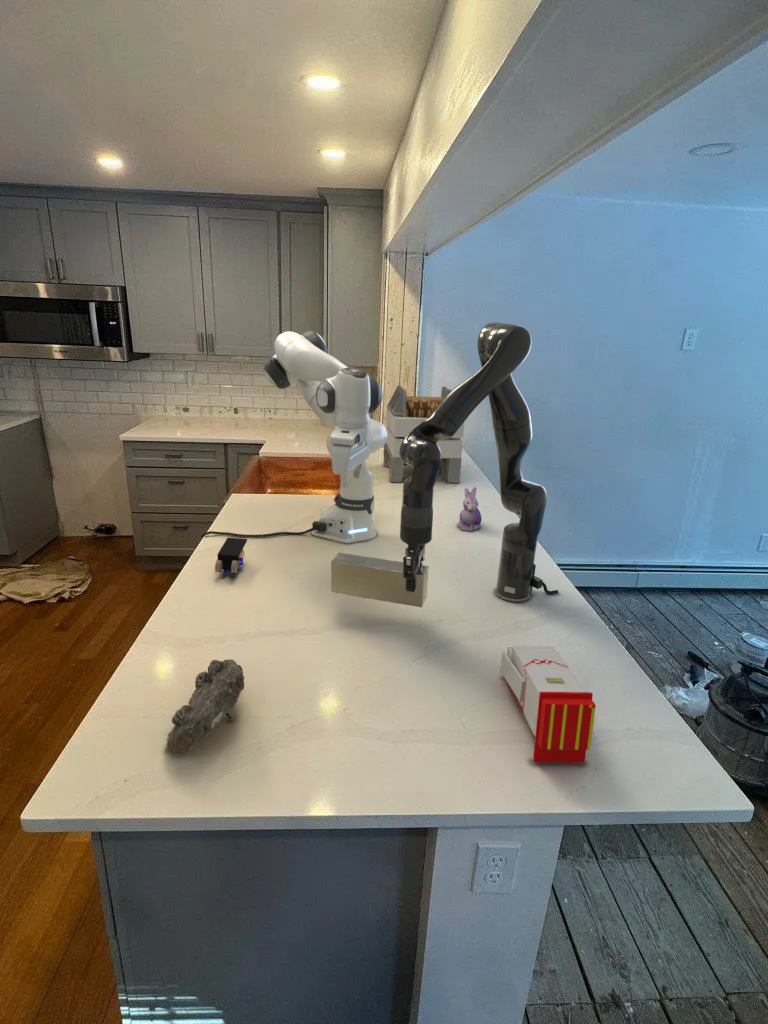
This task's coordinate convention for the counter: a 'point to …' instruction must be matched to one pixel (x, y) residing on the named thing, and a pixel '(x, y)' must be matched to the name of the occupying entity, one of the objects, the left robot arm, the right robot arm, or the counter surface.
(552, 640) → the counter surface
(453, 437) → the grey storage crate
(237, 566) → the toy car
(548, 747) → the toy
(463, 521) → the figurine
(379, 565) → the bar
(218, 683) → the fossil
